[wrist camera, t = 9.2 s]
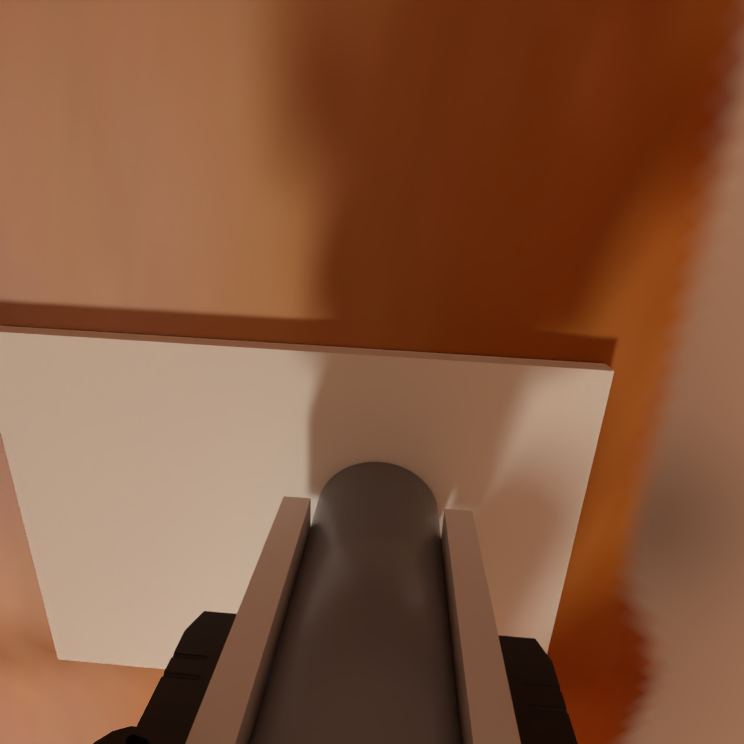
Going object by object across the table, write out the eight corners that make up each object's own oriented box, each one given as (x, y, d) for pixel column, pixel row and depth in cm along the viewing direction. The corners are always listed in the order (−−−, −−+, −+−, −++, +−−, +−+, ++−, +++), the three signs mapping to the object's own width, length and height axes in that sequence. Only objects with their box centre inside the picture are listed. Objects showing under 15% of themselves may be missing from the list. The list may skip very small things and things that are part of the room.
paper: (67, 645, 19) (57, 659, 18) (-9, 325, 14) (-26, 330, 14) (531, 687, 18) (535, 703, 18) (605, 363, 14) (614, 370, 13)
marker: (314, 560, 16) (96, 1442, 5) (313, 454, 15) (2, 1348, 3) (435, 570, 16) (513, 1511, 4) (447, 463, 14) (599, 1445, 3)
